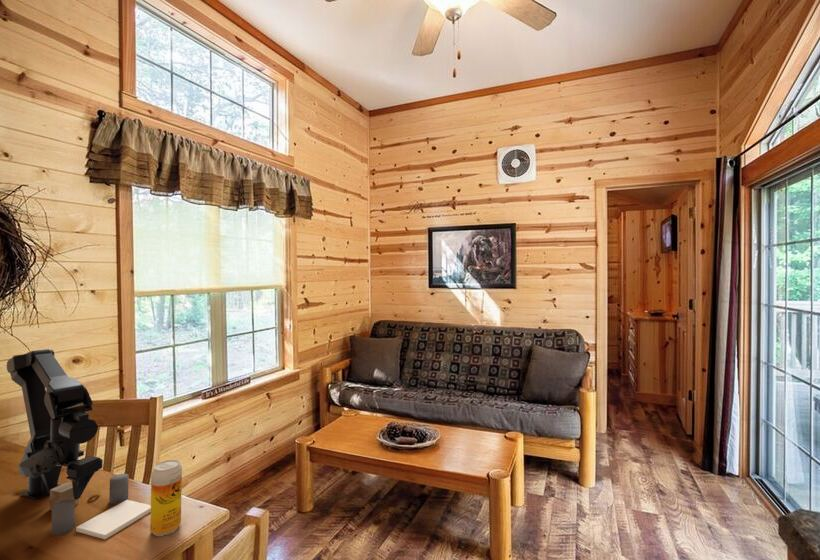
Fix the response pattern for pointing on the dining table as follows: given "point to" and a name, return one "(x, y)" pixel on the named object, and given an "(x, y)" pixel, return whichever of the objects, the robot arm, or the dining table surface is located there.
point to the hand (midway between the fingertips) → (64, 495)
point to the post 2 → (118, 489)
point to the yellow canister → (166, 497)
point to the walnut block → (61, 494)
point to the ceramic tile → (114, 519)
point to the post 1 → (63, 517)
